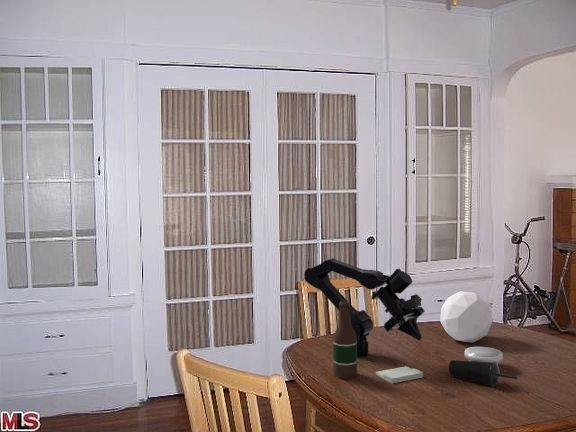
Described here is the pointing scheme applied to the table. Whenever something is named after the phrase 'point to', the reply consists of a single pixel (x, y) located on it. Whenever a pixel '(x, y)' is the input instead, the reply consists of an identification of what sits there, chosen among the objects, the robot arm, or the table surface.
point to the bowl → (483, 354)
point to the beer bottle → (345, 345)
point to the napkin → (400, 374)
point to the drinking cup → (477, 371)
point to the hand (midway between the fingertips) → (420, 339)
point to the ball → (466, 316)
